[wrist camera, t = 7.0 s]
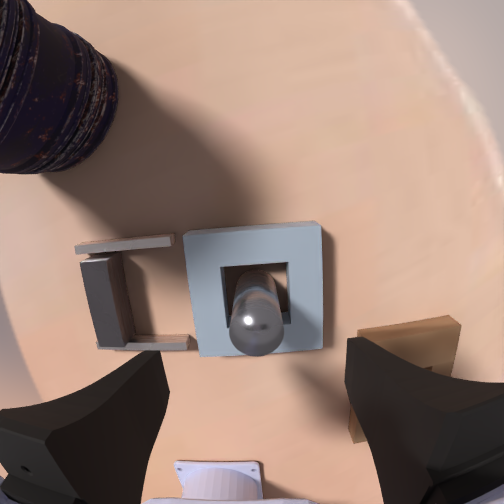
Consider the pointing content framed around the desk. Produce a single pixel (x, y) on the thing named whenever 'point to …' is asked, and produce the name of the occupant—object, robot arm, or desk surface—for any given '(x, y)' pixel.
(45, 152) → the storage jar
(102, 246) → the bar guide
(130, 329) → the bar
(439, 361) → the mount block
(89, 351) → the desk surface
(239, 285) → the lock pin
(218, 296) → the socket block
